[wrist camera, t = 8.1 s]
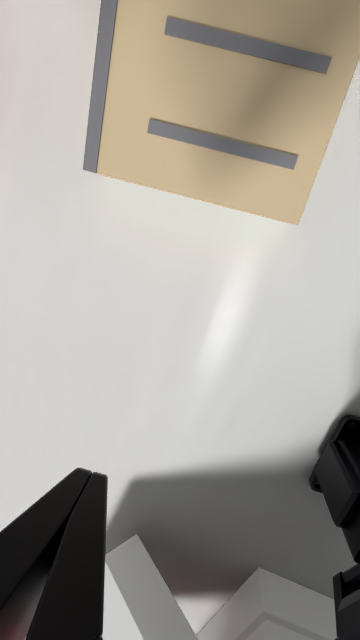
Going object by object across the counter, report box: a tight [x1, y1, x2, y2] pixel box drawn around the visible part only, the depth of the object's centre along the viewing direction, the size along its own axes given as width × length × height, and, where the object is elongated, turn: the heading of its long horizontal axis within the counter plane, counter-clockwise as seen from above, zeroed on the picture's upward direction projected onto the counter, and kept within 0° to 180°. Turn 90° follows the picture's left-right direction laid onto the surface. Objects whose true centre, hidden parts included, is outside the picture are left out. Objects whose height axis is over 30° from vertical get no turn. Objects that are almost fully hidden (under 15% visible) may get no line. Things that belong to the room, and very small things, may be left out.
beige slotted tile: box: [83, 0, 360, 225], centre depth 13 cm, size 10×9×3 cm
